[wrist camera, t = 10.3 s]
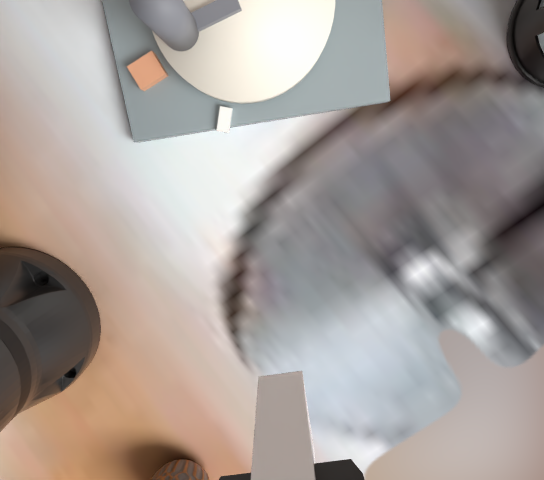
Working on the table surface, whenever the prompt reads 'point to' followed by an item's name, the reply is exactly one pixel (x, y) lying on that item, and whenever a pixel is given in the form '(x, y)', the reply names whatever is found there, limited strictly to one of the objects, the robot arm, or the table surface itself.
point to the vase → (180, 471)
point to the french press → (527, 40)
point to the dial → (239, 43)
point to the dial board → (223, 115)
